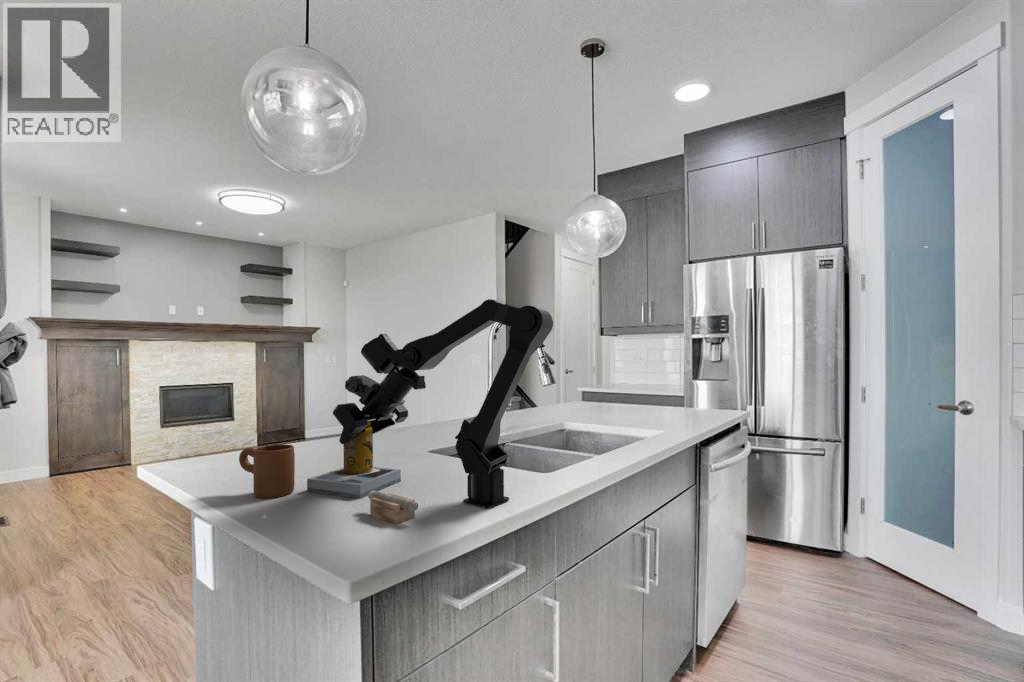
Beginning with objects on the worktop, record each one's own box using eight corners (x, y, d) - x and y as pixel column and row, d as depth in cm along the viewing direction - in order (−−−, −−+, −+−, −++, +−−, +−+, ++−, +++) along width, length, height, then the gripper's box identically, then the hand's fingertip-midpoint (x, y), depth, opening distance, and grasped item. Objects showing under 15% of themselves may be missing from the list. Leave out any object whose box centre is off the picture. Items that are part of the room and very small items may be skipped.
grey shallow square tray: (400, 481, 109) (400, 469, 109) (360, 498, 96) (360, 485, 96) (351, 475, 114) (351, 464, 114) (307, 491, 101) (307, 478, 101)
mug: (225, 496, 98) (225, 449, 98) (253, 486, 106) (253, 442, 106) (277, 500, 96) (277, 452, 96) (302, 489, 103) (302, 444, 103)
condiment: (381, 470, 105) (380, 415, 105) (345, 479, 99) (344, 419, 99) (362, 466, 110) (361, 412, 110) (327, 473, 103) (326, 417, 104)
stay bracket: (425, 520, 83) (425, 499, 83) (407, 527, 80) (407, 505, 80) (378, 506, 91) (378, 487, 91) (360, 512, 88) (360, 492, 88)
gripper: (396, 361, 113) (358, 408, 117) (339, 363, 96) (297, 418, 99) (426, 396, 110) (386, 443, 114) (373, 404, 92) (327, 459, 96)
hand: (351, 440), depth 106 cm, fingers closed on condiment, 6 cm apart
